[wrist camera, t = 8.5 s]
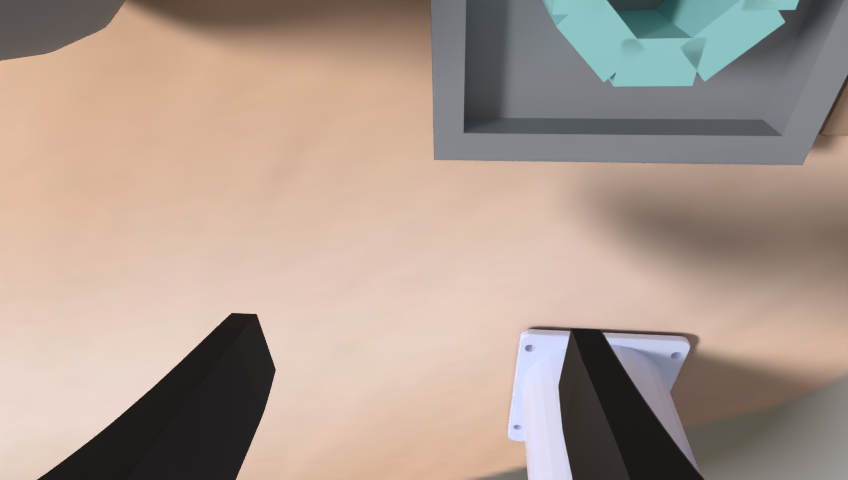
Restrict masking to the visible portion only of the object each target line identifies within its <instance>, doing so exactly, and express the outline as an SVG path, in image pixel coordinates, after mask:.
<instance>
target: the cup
mask: <svg viewBox="0 0 848 480" xmlns="http://www.w3.org/2000/svg"><path fill="white" fill-rule="evenodd" d="M124 2H125V0H0V61H1V60H8V59H14V58H21V57H28V56H34V55H41V54H46V53H50V52H53V51H56V50H58V49H60V48H62V47H64V46H67V45H69V44H71V43H73V42H75V41H78V40H80V39H82V38H84V37H87V36H89V35H91V34H93V33H95V32H98V31H100V30H101V29H103V28H105V27H106V26H107V25H108V24H109V23H110V22H111V20H112V19H113V17H114V16H115V15H116V13H117V12H118V10H119V9H120V8H121V6H122V5H123V3H124Z"/></svg>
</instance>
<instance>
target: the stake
mask: <svg viewBox="0 0 848 480" xmlns="http://www.w3.org/2000/svg"><path fill="white" fill-rule="evenodd" d="M819 134H820V135H839V136H848V75H847V77H846V79H845V81H844V83H843V85H842V87H841V89H840V91H839V93H838V95H837V97H836V99H835V101H834V103H833V105H832V107H831V109H830V111H829V113H828V115H827V117H826V119H825V121H824V123H823V125H822V127H821V129H820V131H819Z"/></svg>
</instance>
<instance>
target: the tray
mask: <svg viewBox="0 0 848 480" xmlns="http://www.w3.org/2000/svg"><path fill="white" fill-rule="evenodd" d="M607 1H608V2H609V4H610V5H611V6H612V7H613V9H614V10H615V11H617V10H655V9H656V8H657V7H658V6H660V5H661V4H662V3H663V2H664V1H665V0H607ZM778 11H779V13H780V14H781V16H782V18H783V19H784V21H785V23H784V24H782V25H781V26H780V27H778V28H777V29H776V30H774V31H773V32H771V33H770V34H769V35H767V36H766V37H765V38H763V39H762V40H761V41H759V42H758V43H757V44H755V45H754V46H752V47H751V48H750V49H748V50H747V51H746V52H744V53H743V54H742V55H740V56H739V57H737V58H736V59H735V60H733V61H732V62H731V63H729V64H728V65H727V66H725V67H724V68H723V69H721V70H720V71H718V72H717V73H716V74H714V75H713V76H712V77H710V78H709V79H708V80H706V81H703V80H702V79H701V78H700V77H699V76H698V75H697V74H696V76H695V79H694V82H693V86H619V87H614V86H613V85H612V83H611V82H610V80H609V79H607V80H606V81H605V82H603V81H602V80H601V79H600V77H599V76H598V75H597V74H596V73H595V72H594V70H593V69H592V68H591V67H590V66H589V65H588V63H587V62H586V61H585V60H584V59H583V57H582V56H581V55H580V54H579V53H578V52H577V50H576V49H575V48H574V47H573V46H572V45H571V43H570V42H569V41H568V40H567V39H566V38H565V36H564V35H563V34H562V33H561V32H560V30H559V29H558V28H557V27H556V25H555V23H554V22H553V20H552V18H551V16H550V14H549V12H548V10H547V8H546V6H545V4H544V2H543V1H542V0H431V33H432V82H433V131H434V160H481V161H550V162H620V163H689V164H758V165H803V163H804V161H805V159H806V157H807V155H808V153H809V151H810V149H811V147H812V145H813V143H814V141H815V139H816V137H817V135H818V133H819V131H820V129H821V127H822V125H823V123H824V121H825V119H826V117H827V115H828V113H829V111H830V109H831V107H832V105H833V103H834V101H835V99H836V97H837V95H838V93H839V91H840V89H841V87H842V85H843V83H844V81H845V79H846V77H847V75H848V0H799V2H798V4H797V7H796V9H795V10H778Z"/></svg>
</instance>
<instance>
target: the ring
mask: <svg viewBox="0 0 848 480" xmlns="http://www.w3.org/2000/svg"><path fill="white" fill-rule="evenodd" d="M542 1H543V2H544V4H545V6H546V8H547V10H548V12H549V14H550V16H551V18H552V20H553V22H554V23H555V25H556V27H557V28H558V29H559V30H560V32H561V33H562V34H563V35H564V36H565V38H566V39H567V40H568V41H569V42H570V43H571V45H572V46H573V47H574V48H575V49H576V50H577V52H578V53H579V54H580V55H581V56H582V57H583V59H584V60H585V61H586V62H587V63H588V65H589V66H590V67H591V68H592V69H593V70H594V72H595V73H596V74H597V75H598V76H599V77H600V79H601V80H602V81H603V82H605V81H606V80H607V79H609V80H610V82H611V83H612V85H613V86H614V87H619V86H693V82H694V79H695V76H696V74H697V75H698V76H699V77H700V78H701V79H702V80H703V81H706V80H708V79H709V78H710V77H712V76H713V75H714V74H716V73H717V72H718V71H720V70H721V69H723V68H724V67H725V66H727V65H728V64H729V63H731V62H732V61H733V60H735V59H736V58H737V57H739V56H740V55H742V54H743V53H744V52H746V51H747V50H748V49H750V48H751V47H752V46H754V45H755V44H757V43H758V42H759V41H761V40H762V39H763V38H765V37H766V36H767V35H769V34H770V33H771V32H773V31H774V30H776V29H777V28H778V27H780V26H781V25H782V24H784V23H785V21H784V19H783V18H782V16H781V14H780V13H779V11H778V10H795V9H796V7H797V4H798V2H799V0H665V1H664V2H663V3H662V4H661V5H660V6H658V7H657V8H656V9H655V10H617V11H615V10H614V9H613V7H612V6H611V5H610V4H609V2H608V1H607V0H542Z"/></svg>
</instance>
